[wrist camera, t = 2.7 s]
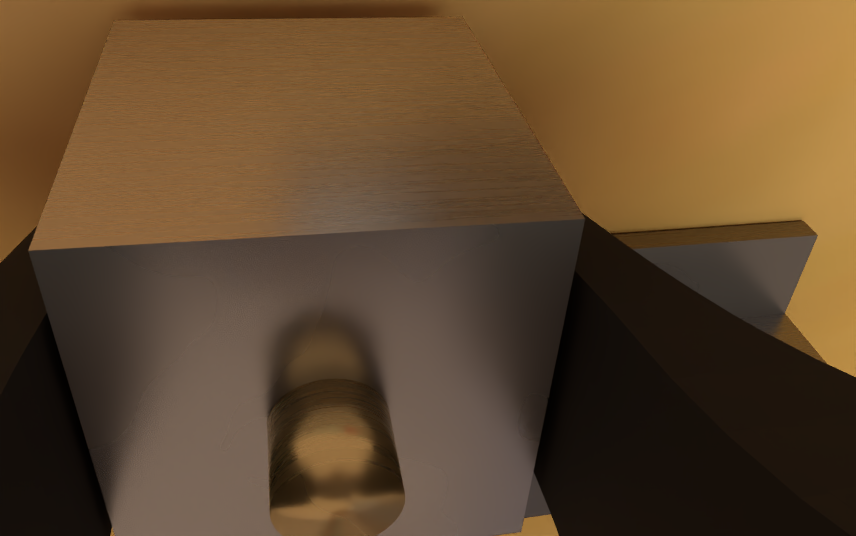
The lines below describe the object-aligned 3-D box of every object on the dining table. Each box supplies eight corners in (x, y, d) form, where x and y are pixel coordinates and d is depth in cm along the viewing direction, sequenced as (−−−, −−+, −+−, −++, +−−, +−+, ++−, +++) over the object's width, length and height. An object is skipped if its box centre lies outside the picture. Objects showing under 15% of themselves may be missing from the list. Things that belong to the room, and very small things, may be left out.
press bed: (699, 476, 21) (794, 643, 17) (135, 552, 18) (114, 767, 15) (803, 220, 16) (965, 380, 12) (56, 273, 13) (-7, 495, 10)
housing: (441, 279, 13) (545, 609, 9) (165, 298, 13) (117, 671, 8) (462, 16, 11) (629, 290, 6) (113, 19, 10) (-5, 336, 5)
